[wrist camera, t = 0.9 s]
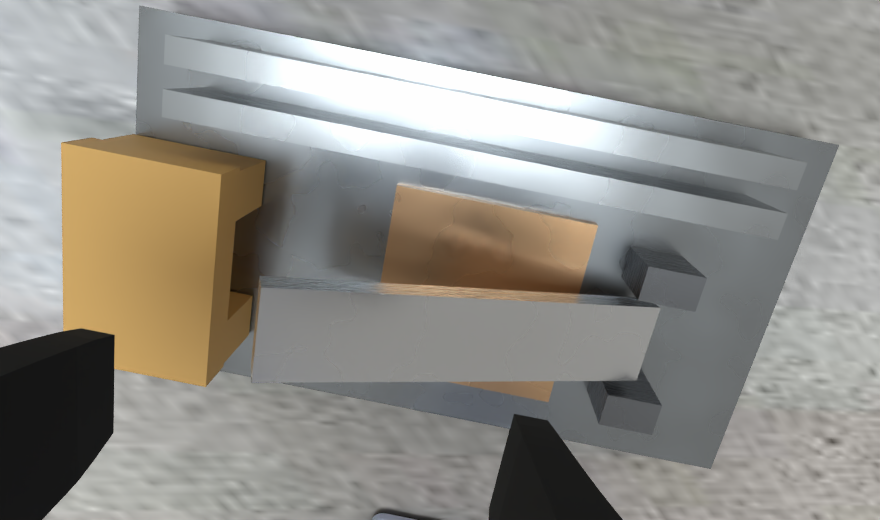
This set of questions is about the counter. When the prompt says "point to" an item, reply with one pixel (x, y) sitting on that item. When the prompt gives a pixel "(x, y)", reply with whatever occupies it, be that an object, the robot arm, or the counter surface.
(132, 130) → the counter surface
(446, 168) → the grey fixture base plate
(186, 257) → the clip
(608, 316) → the strap
